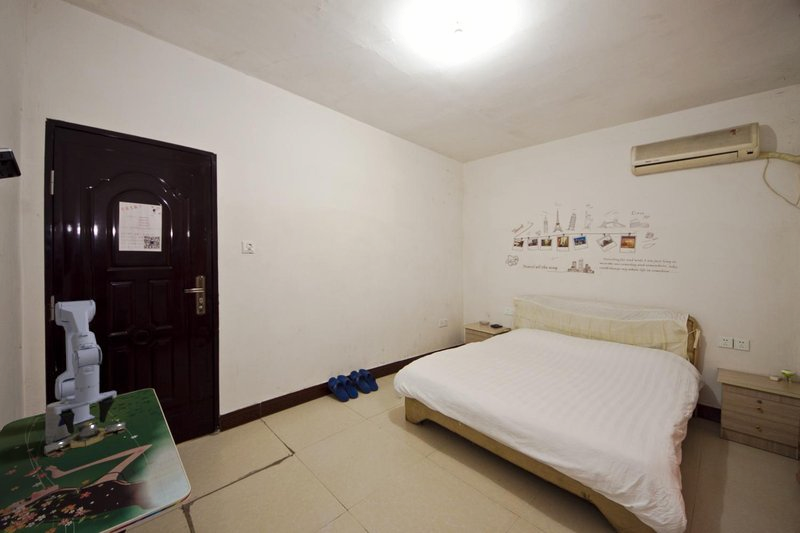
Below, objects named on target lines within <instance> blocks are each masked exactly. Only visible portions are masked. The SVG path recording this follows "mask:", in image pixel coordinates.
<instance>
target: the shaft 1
mask: <svg viewBox="0 0 800 533" xmlns="http://www.w3.org/2000/svg"><path fill="white" fill-rule="evenodd" d="M69 438H70V437H69ZM69 438H67V439H64V440H61V441H58V442H56V443H53V444H50V445H48V444H46V445H45V446H44V447H43V455H44V456H46V457H51V456H53V455H56V454H57V453H58V452H57V451H58V450H59V451H61V452H64V451H67V450H70V449H71V448H70V446H68V445H69V443H70V439H69Z"/></svg>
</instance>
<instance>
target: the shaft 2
mask: <svg viewBox="0 0 800 533" xmlns="http://www.w3.org/2000/svg"><path fill="white" fill-rule="evenodd" d="M104 429H105V432H106V433H107V434H106V436H105V438H107V437H110V436H111V437H112V436H114V432H117V434H122V433H125V432H126V422H125V421H122V422H119V423H115V424H111V425H107V426H104Z"/></svg>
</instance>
